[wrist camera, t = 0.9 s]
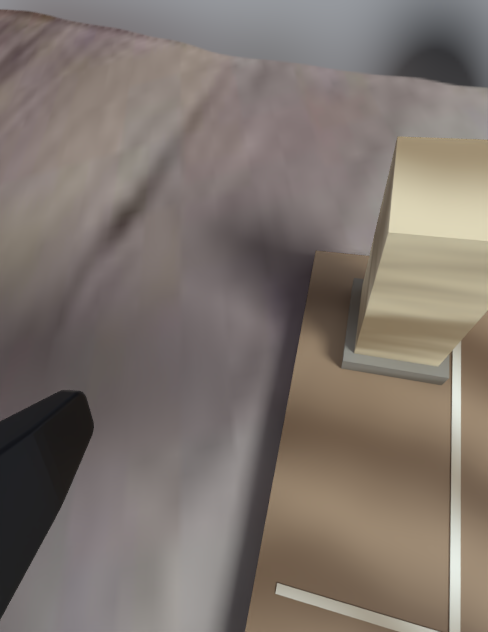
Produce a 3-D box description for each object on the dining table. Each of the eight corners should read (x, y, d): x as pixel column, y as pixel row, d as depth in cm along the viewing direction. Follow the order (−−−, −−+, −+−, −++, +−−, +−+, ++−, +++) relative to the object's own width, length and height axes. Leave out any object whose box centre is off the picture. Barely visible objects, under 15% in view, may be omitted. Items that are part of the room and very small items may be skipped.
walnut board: (493, 851, 14) (513, 887, 13) (227, 743, 16) (220, 764, 15) (481, 282, 24) (491, 268, 23) (315, 263, 26) (315, 249, 25)
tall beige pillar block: (441, 385, 20) (567, 263, 10) (341, 368, 21) (369, 244, 11) (443, 299, 22) (550, 130, 12) (351, 288, 23) (383, 125, 13)
